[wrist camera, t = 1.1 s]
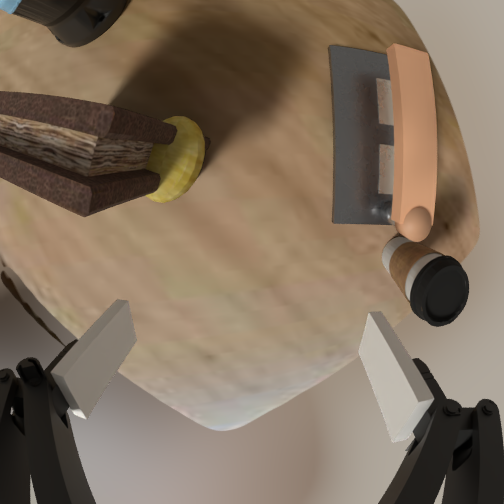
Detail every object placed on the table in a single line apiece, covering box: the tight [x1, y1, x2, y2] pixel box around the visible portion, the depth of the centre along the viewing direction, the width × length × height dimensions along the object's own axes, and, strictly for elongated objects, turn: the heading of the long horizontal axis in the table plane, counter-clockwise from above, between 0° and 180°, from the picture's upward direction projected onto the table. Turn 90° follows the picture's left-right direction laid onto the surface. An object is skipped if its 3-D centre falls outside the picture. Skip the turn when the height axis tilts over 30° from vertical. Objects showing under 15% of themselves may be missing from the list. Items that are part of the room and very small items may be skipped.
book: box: [0, 91, 211, 217], centre depth 23 cm, size 22×8×25 cm, turn 68°
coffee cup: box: [382, 237, 469, 327], centre depth 31 cm, size 8×8×15 cm
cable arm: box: [386, 43, 437, 242], centre depth 25 cm, size 24×5×3 cm, turn 1°
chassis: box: [328, 45, 395, 226], centre depth 30 cm, size 26×14×7 cm, turn 1°
